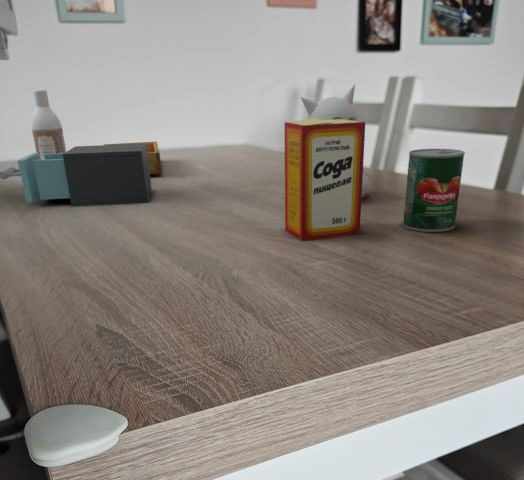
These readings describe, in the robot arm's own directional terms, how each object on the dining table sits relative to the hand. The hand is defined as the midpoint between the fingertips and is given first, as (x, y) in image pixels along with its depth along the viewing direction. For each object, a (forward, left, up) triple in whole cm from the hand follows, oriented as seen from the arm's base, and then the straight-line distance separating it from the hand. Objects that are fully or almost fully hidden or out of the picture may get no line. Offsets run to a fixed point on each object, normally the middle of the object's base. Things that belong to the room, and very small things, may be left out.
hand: (2, 59), depth 102 cm
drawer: (+5, -2, -25) cm, 25 cm away
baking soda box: (+53, -38, -26) cm, 70 cm away
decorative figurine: (+60, -13, -26) cm, 66 cm away
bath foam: (-1, +28, -26) cm, 38 cm away
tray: (+17, +37, -26) cm, 48 cm away
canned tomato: (+70, -38, -26) cm, 83 cm away
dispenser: (+17, -2, -26) cm, 31 cm away
